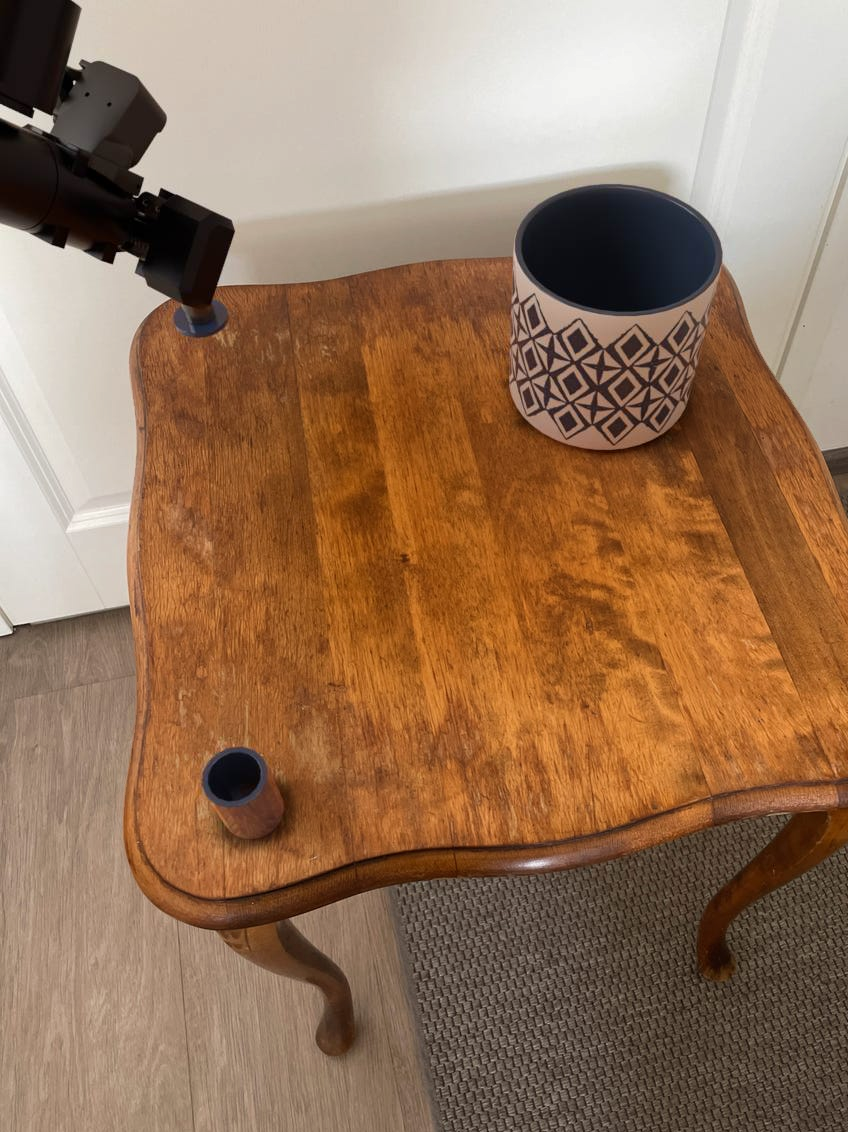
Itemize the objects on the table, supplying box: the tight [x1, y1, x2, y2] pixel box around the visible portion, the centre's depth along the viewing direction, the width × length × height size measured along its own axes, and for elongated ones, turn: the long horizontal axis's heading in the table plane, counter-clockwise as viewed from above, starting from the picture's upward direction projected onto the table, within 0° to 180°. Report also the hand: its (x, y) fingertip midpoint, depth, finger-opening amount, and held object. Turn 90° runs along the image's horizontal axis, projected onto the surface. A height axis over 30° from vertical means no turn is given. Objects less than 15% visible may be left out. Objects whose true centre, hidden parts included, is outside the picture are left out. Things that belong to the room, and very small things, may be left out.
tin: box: [201, 746, 285, 840], centre depth 60 cm, size 4×4×6 cm
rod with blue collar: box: [172, 298, 230, 339], centre depth 73 cm, size 4×4×10 cm
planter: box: [508, 183, 724, 451], centre depth 77 cm, size 16×16×14 cm
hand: (195, 246), depth 72 cm, fingers closed on rod with blue collar, 2 cm apart
